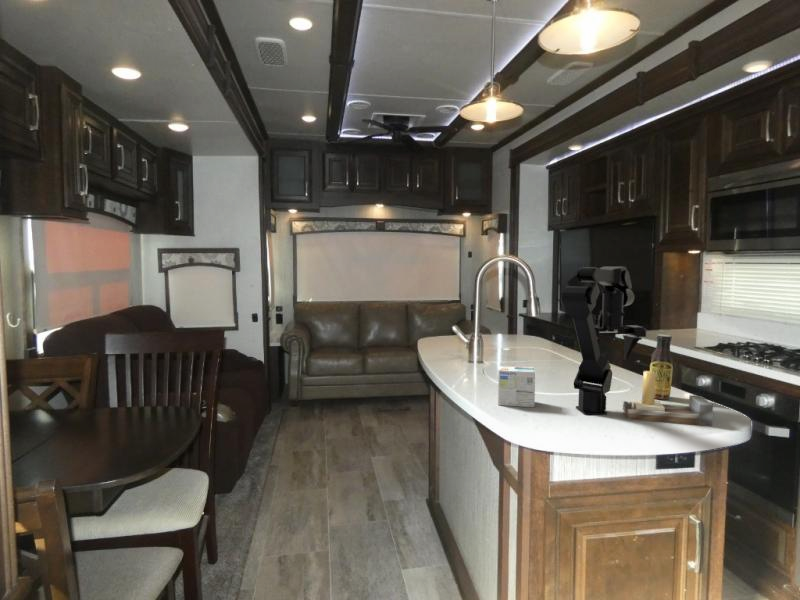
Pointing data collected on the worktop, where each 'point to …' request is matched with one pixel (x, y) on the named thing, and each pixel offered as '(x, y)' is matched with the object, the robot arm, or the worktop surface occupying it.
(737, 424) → the worktop surface
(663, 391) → the sauce bottle
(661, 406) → the rail carriage
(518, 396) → the light bulb box
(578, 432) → the worktop surface
